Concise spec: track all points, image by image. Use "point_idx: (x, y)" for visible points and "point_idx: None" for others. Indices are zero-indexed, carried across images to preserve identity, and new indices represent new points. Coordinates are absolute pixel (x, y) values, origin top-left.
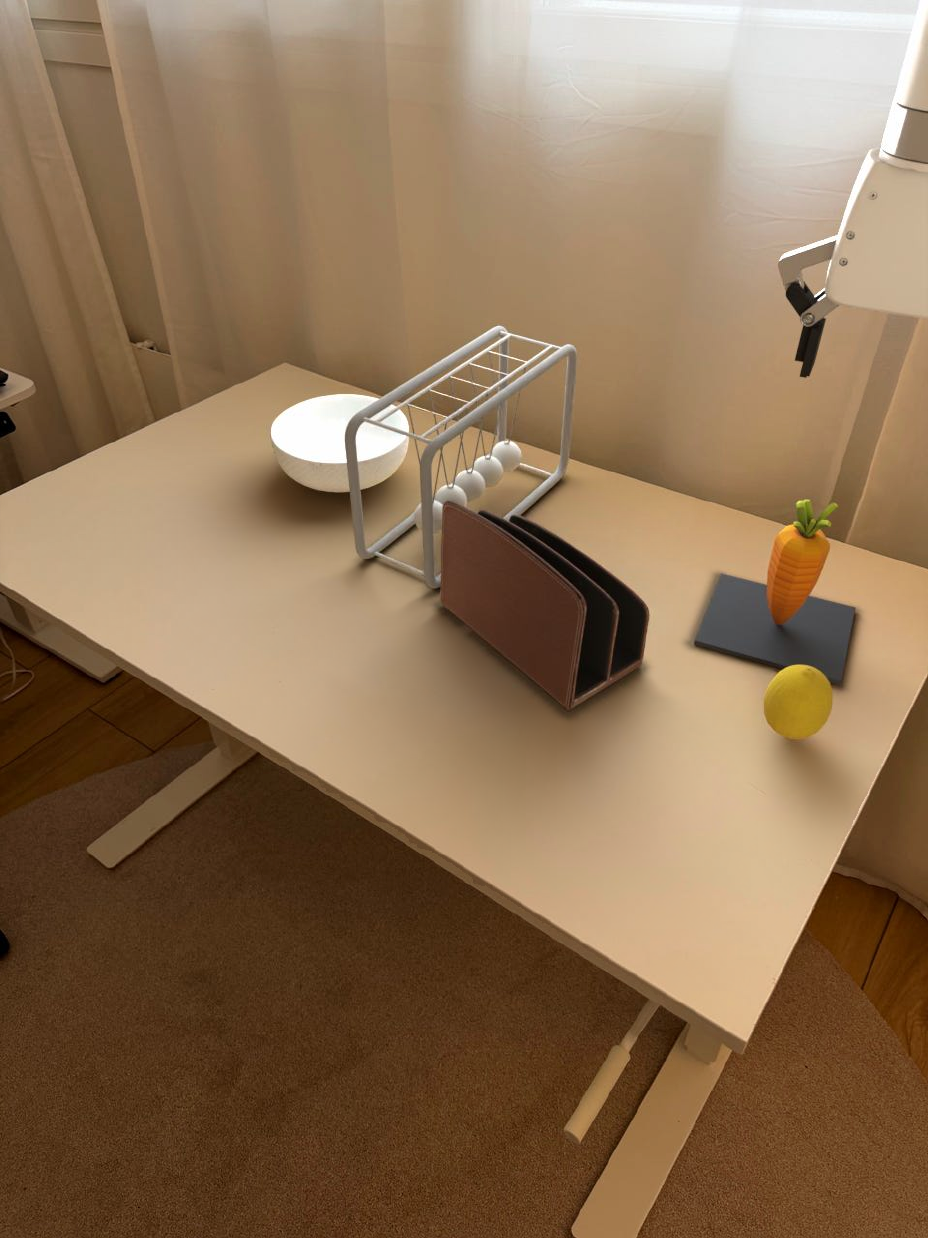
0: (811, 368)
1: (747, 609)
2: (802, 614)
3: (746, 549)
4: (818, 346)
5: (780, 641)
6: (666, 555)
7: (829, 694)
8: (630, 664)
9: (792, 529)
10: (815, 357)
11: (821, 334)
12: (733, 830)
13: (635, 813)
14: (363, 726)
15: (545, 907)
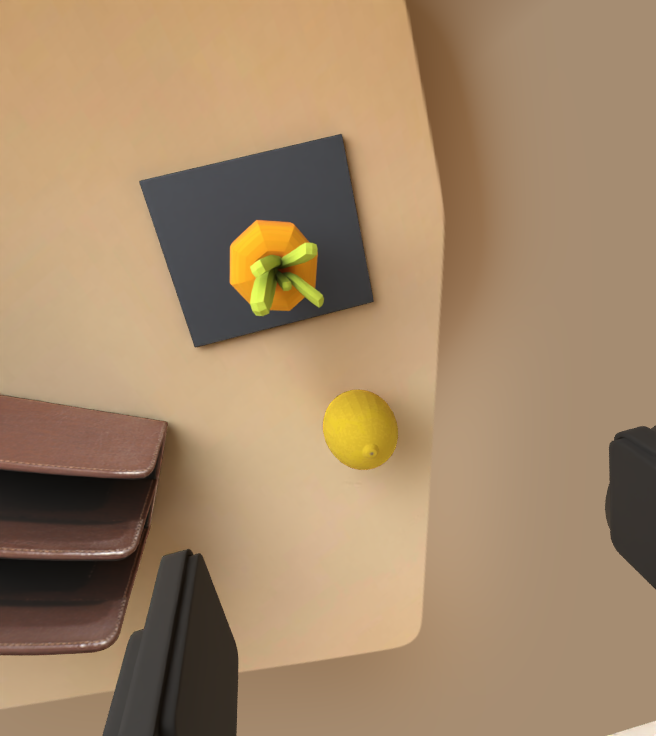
0: (233, 665)
1: (217, 242)
2: (285, 202)
3: (130, 71)
4: (201, 637)
5: None
6: (36, 181)
7: (396, 441)
8: (161, 445)
9: (251, 274)
10: (208, 609)
11: (198, 700)
12: (353, 531)
13: (276, 569)
14: (5, 656)
15: (268, 665)
